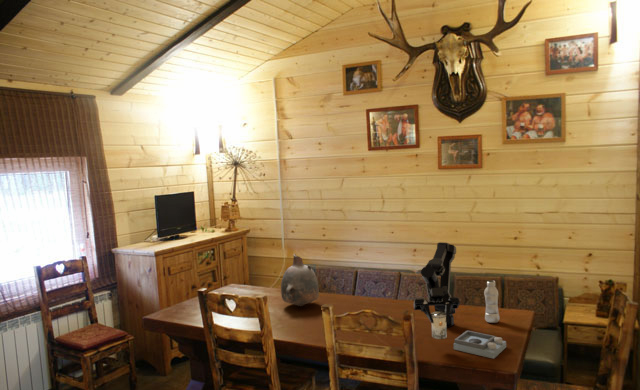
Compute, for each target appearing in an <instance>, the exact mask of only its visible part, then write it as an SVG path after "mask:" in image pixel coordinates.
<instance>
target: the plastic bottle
mask: <svg viewBox="0 0 640 390" xmlns="http://www.w3.org/2000/svg"><path fill="white" fill-rule="evenodd" d="M483 294H484V299H485V312H484V313H485V314H484V320H485V321H486V322H487V323H490V324H495V323H498V322H499V321H500V313H499V307H498V304H499V303H498V302H499V301H498V300H499V290H498V289H497V287H496V281H495V280H487V281H486V287H485V289H484V291H483Z"/></svg>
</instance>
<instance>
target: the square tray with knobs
mask: <svg viewBox="0 0 640 390" xmlns="http://www.w3.org/2000/svg"><path fill="white" fill-rule="evenodd" d="M506 348H507V341H506V340H503V338H502V337H500V336H496V335H491V334H487V333H482V332H476V331H472V330H465V331H464V332H462V334H460V335H459V336H457V337H455V338H454V343H453V350H456V351H458V352H459V351H460V352H463V353H468V354H471V355H477V356H480V357H481V356H482V357H484V358H489V359H495V358H497V357H498V356H499V354H500V353H502V352H503V351H504V350H506Z"/></svg>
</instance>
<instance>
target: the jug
mask: <svg viewBox="0 0 640 390" xmlns="http://www.w3.org/2000/svg"><path fill="white" fill-rule="evenodd" d="M292 260H293V262H292V265H291V266H288V268H287V269H286V270H285V272H284V273H283V276H282V278H281V282H280V283H281V284H280V294H281V299H282V301H283V302H284V303H287V304H291V305H295V306H298V307H299V306H300V307H303V306H305V305H306V304H310V303H312V302H314V301H316V300H318V299H319V294H320V292H319V291H320V290H319V289H320V288H319V287H320V286H319V282H318V278H317V275H316V273H315V270H314V269H312V266H311V264H308V265H306V264H304V262H303V258H302V257H301V256H298V255H296V253H293V259H292Z"/></svg>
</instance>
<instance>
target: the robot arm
mask: <svg viewBox="0 0 640 390" xmlns="http://www.w3.org/2000/svg"><path fill="white" fill-rule="evenodd" d="M456 254H457V247H456V246H455V245H454V244H450V243H448V242H444V241H443V242H437V244H436V250H435V252H434V254H433V257H432V259H429V260H428V262H426V264H425V266H424V267H423V268H421V270H420V274H421V277H422V279H423V281H424V282H425V285H426V291H427V296H428V297H427V298H428V300H425V299H424V298H423V297H419V298H415V299H413V310H414V311H420V312H423V313H424V315H426V317H427V319H428V320H429V322H430V323H431V324H432V317H431V313H432V312H431V310H430V306H431V307H433V308H434V312H444V313H446V328H450V327H452V326H453V325H455V322H454V321H455V319H454V314H456V310H457V309H458V308H459V306H460V304H461V303H460V298H459V297H458V296H452V295H451V293H450V289H451V273H452V272H451V271H452V269H451V268H452V262H454V261H453V260H454V259H455V258H456ZM439 277H440V278H439Z"/></svg>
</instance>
